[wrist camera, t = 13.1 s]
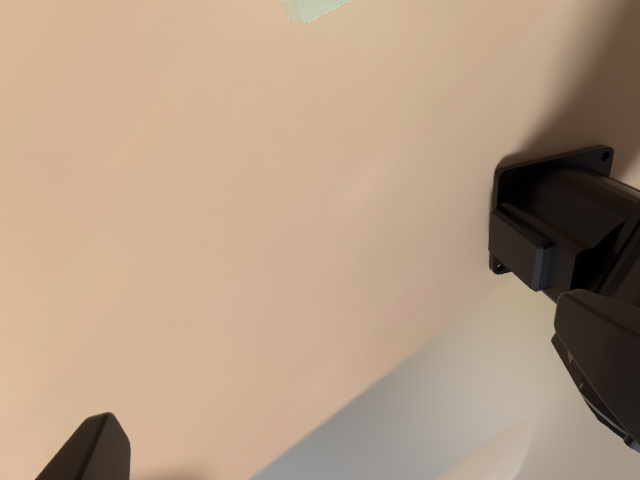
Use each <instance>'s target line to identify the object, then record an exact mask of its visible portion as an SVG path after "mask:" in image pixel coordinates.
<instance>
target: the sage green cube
mask: <svg viewBox="0 0 640 480" xmlns="http://www.w3.org/2000/svg"><path fill="white" fill-rule="evenodd" d="M280 1H281V4H282V6H283V8H284V11H285V13H286V16H287V18H288V20H289V21H292V22H297V23H302V24H306V23H308V22H310V21H312V20H314V19H316V18H318V17H319V16H321V15H323V14H325V13H327V12H329V11H331V10H333V9H335V8H337V7H339V6H341V5H343V4H345V3H347V2H349V1H351V0H280Z"/></svg>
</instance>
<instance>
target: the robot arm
mask: <svg viewBox="0 0 640 480" xmlns="http://www.w3.org/2000/svg"><path fill="white" fill-rule="evenodd" d="M602 154H603V156H602V157H601V155H602ZM613 155H614V150H613V148H611V147H609V146H606V145H598V146H594V147H590V148H585V149H581V150H576V151H572V152H568V153H563V154H559V155H554V156H550V157H546V158H541V159H537V160H532V161H528V162H524V163H519V164H515V165H510V166H506V167H503V168H500V169H499V170H498V171H497V172H496V174H495V176H494V189H493V206H492V210H491V212H490V228H489V247H488V250H489V251H490V260H489V268H490V269H491V270H492V271H493V272H494V273H495V274H497V275H499V274H504V273H508V272H513V273H514V274H515V275H516V276H517V277H518V278H519V279H520V280H522V281H523V282H524V283H525V284H526V285H527V286H528V287H529V288H530V289H532V290H533V291H535V292H537V291H542V292H543V293H545V294H546V295H547V296H548V297H549V298H550V299H551V300H552V301H554V302H555V303H556V304H557V307H556V313H555V319H554V327H555V331H556V332H555V334H554V336H553V337H552V339H551V342H552V344H553V345H554V347H555V349H556V351H557V352H558V354H559V356H560V358H561V359H562V361H563V363H564V365H565V367H566V368H567V370H568V372H569V374H570V375H571V377H572V379H573V381H574V382H575V384H576V386H577V388H578V390H579V391H580V393H581V395H582V397H583V398H584V400H585V402H586V404H587V405H588V406H589V408H590V409H591V411H592V412H593V413H594V414H595V416H596V418H597V419H598V420H599V421H600V422H601V423H603V424H604V425H606V426H607V427H608V428H609V429H611V430H612V431H613V432H614V433H616V434H617V435H619V436H620V437H621V438H623V440H624V442H625V444H626V445H627V446H629V447H630V448H632V449H634V450H636V451H637V452H639V453H640V190H639V189H637V188H634V187H632V186H630V185H627V184H625V183H623V182H621V181H618V180H616V179H614V178H611V177H609V175H610V170H611V165H612V160H613ZM507 174H508V176H507V178H506V179H505V180H503V177H504V176H505V175H507ZM499 264H501V265H500V266H499V267H497V266H498V265H499ZM130 456H131V448H130V442H129V439H128V437H127V435H126V434H125V432H124V430H123V429H122V427H121V425H120V424H119V422H118V420H117V419H116V417H115V416H114V414H112V413H110V412H106V413H102V414H98V415H94V416H91V417H88V418H87V419H85V420H84V421H83V422H82V424H81V425H80V426H79V427H78V428H77V430H76V431H75V432H74V433H73V434H72V436H71V437H70V438H69V439H68V440H67V442H66V443H65V444H64V445H63V446H62V448H61V449H60V450H59V451H58V452H57V454H56V455H55V456H54V457H53V458H52V460H51V461H50V462H49V463H48V464H47V466H46V467H45V468H44V469H43V470H42V472H41V473H40V474H39V475H38V476H37V478H36V479H35V480H129V477H130Z"/></svg>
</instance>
